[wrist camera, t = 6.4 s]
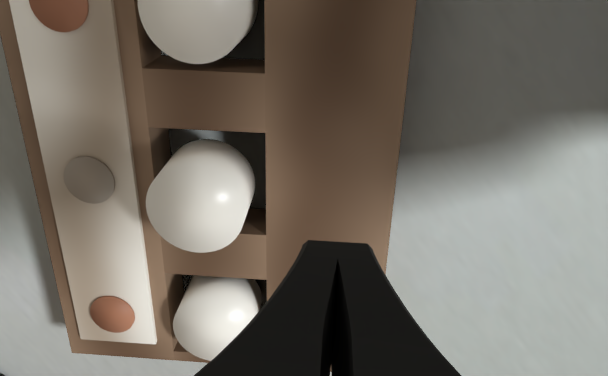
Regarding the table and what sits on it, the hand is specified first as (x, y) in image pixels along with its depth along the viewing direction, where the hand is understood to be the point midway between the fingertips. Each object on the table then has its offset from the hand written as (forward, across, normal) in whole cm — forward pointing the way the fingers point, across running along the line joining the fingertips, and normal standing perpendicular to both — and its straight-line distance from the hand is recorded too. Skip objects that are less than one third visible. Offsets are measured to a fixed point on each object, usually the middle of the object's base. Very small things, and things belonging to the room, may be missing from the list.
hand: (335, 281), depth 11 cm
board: (+9, +4, +2) cm, 11 cm away
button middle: (+8, +4, +1) cm, 9 cm away
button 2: (+9, +5, +7) cm, 12 cm away
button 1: (+9, +4, -4) cm, 11 cm away
